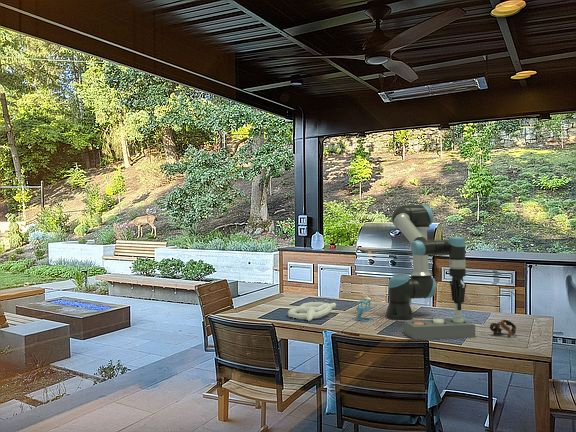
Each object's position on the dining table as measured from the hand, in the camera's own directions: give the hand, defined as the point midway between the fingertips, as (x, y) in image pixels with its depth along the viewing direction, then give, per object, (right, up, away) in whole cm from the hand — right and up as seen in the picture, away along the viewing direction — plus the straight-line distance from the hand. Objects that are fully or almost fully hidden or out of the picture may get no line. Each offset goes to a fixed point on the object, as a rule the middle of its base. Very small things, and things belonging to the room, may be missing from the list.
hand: (458, 316), depth 228 cm
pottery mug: (+20, -9, -3) cm, 22 cm away
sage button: (0, -4, 0) cm, 4 cm away
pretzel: (-69, -10, +47) cm, 84 cm away
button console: (-10, -9, -1) cm, 13 cm away
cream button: (-10, -4, -1) cm, 11 cm away
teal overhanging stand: (-41, -10, +34) cm, 54 cm away
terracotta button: (-20, -6, -2) cm, 21 cm away
